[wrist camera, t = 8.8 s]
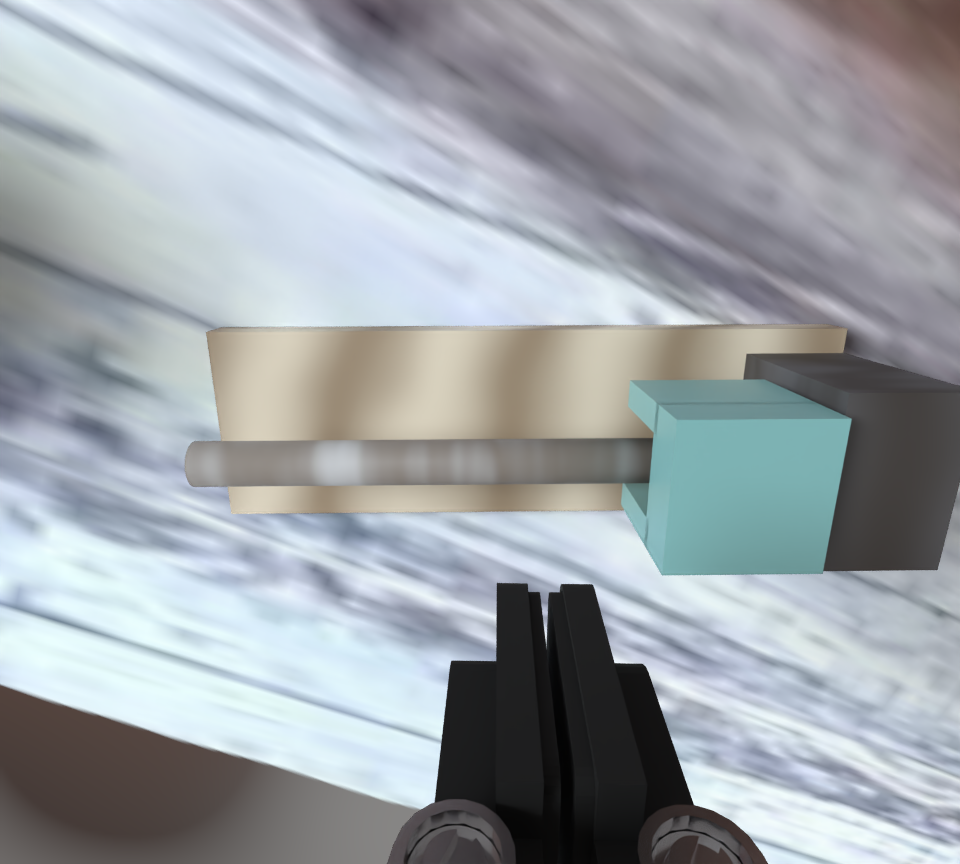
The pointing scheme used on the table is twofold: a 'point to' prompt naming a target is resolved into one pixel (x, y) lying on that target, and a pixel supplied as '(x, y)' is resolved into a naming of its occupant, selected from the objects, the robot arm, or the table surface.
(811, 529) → the sleeve
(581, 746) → the robot arm
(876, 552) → the wooden slide rail
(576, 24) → the table surface
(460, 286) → the table surface
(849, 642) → the table surface
